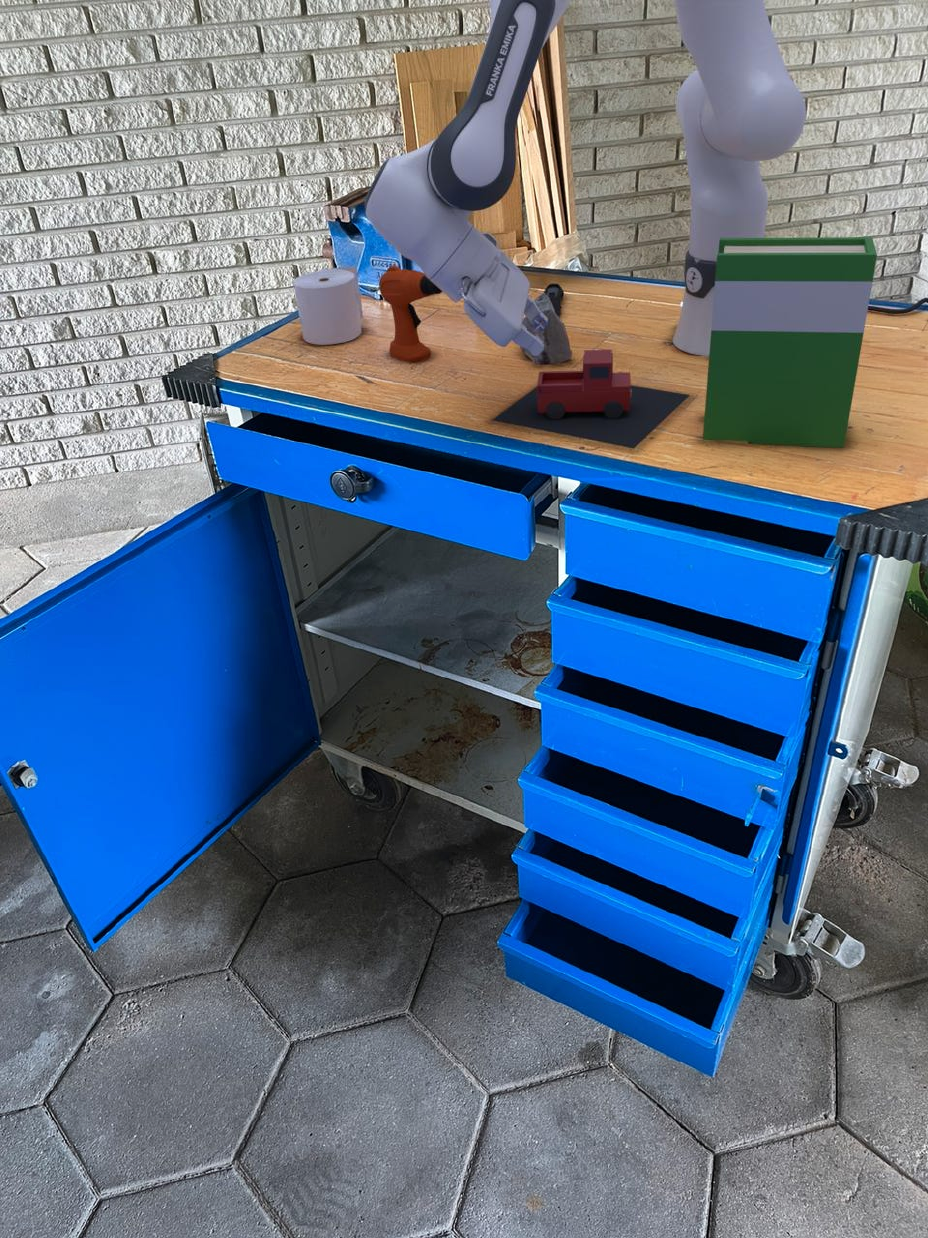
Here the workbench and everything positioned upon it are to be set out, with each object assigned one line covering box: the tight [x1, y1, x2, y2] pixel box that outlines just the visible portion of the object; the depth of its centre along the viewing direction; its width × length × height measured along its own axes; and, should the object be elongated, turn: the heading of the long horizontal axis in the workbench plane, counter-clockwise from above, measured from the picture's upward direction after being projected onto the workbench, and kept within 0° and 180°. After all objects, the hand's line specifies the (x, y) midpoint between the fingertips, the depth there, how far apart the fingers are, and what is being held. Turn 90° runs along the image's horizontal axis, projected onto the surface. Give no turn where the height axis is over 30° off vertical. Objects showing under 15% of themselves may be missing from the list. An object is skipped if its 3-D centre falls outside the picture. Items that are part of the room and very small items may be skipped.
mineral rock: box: [520, 292, 573, 366], centre depth 155 cm, size 13×11×10 cm
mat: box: [492, 384, 690, 450], centre depth 138 cm, size 19×22×1 cm
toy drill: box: [378, 265, 443, 363], centre depth 154 cm, size 5×19×15 cm, turn 48°
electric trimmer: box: [543, 283, 565, 317], centre depth 173 cm, size 4×16×3 cm, turn 172°
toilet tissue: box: [292, 265, 364, 346], centre depth 170 cm, size 11×12×10 cm
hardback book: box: [702, 236, 878, 449], centre depth 121 cm, size 18×7×24 cm, turn 75°
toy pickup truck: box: [536, 349, 632, 420], centre depth 135 cm, size 13×6×8 cm, turn 83°
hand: (543, 337), depth 132 cm, fingers open, 8 cm apart
